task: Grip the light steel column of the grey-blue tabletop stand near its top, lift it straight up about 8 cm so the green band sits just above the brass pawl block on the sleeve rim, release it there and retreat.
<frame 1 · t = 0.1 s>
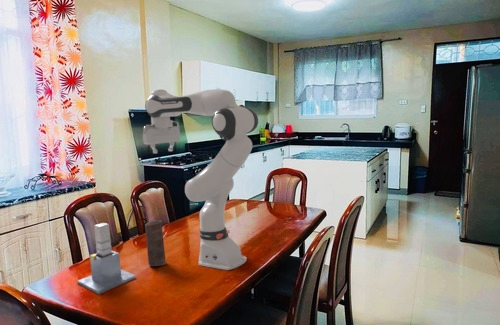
hand: (163, 152, 172), 48 cm above the table, fingers open, 8 cm apart
stand: (107, 280, 142), on the table
column: (104, 251, 140), point 12 cm above the table, slide at 0.0 cm
grey upright block: (157, 265, 156), on the table
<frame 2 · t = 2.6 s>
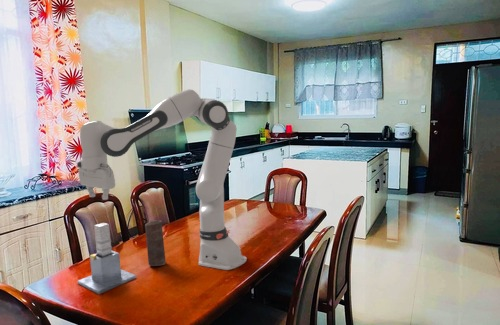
hand: (98, 198, 138), 34 cm above the table, fingers open, 8 cm apart
nothing on the table moved.
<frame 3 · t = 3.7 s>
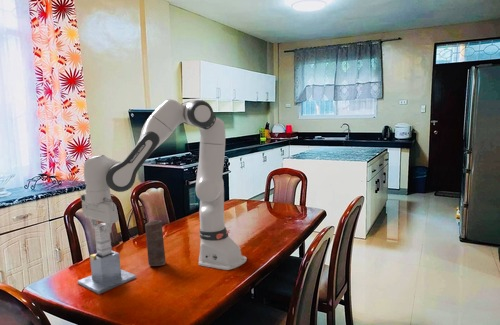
hand: (101, 230, 139), 21 cm above the table, fingers open, 8 cm apart
nothing on the table moved.
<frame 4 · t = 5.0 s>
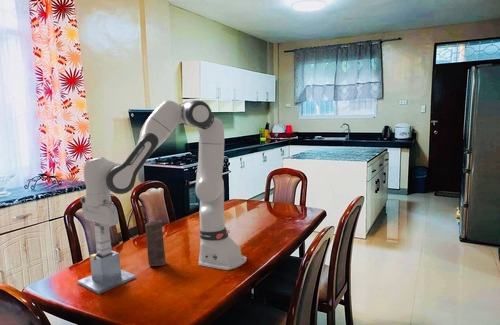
hand: (102, 232, 139), 20 cm above the table, fingers closed on column, 4 cm apart
column: (104, 251, 140), point 12 cm above the table, slide at 0.0 cm, touching gripper
everything else where it was.
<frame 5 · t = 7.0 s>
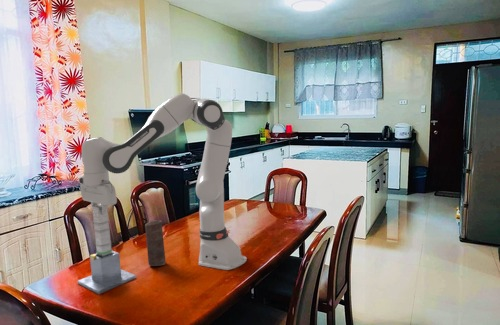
hand: (100, 213, 139), 28 cm above the table, fingers closed on column, 4 cm apart
column: (102, 232, 139), point 20 cm above the table, slide at 7.7 cm, touching gripper
everything else where it was.
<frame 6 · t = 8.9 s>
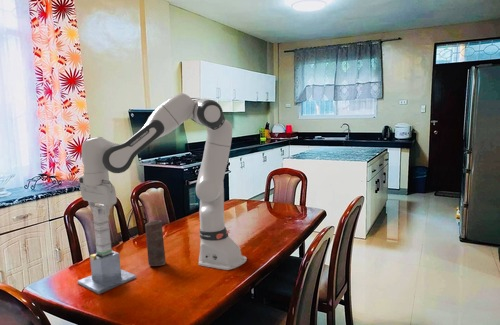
hand: (100, 213, 138), 28 cm above the table, fingers open, 8 cm apart
column: (102, 232, 139), point 20 cm above the table, slide at 7.7 cm
everything else where it was.
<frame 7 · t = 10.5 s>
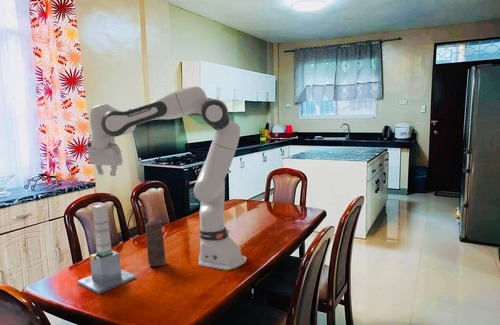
hand: (106, 175, 151), 41 cm above the table, fingers open, 8 cm apart
nothing on the table moved.
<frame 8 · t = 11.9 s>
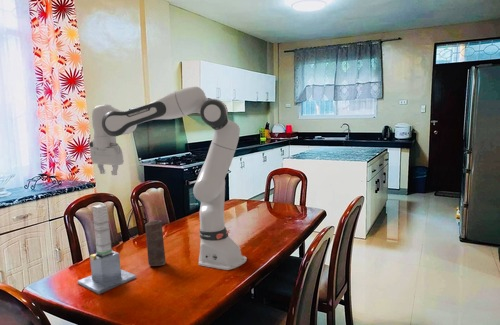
hand: (108, 174, 153), 41 cm above the table, fingers open, 8 cm apart
nothing on the table moved.
at the end: column slide at 7.7 cm; the gripper is holding nothing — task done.
